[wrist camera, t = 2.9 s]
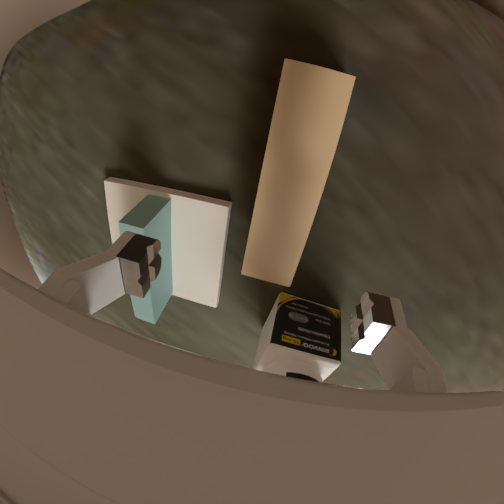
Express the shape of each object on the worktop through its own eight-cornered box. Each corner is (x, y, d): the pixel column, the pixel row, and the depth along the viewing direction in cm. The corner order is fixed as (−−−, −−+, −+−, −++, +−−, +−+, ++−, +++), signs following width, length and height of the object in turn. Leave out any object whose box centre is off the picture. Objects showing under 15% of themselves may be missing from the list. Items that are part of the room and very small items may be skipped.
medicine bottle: (341, 309, 29) (340, 412, 20) (315, 343, 33) (305, 432, 24) (280, 289, 29) (258, 394, 20) (261, 328, 33) (239, 417, 24)
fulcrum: (232, 202, 24) (209, 240, 19) (218, 301, 32) (202, 342, 27) (109, 176, 25) (71, 204, 20) (122, 271, 33) (97, 304, 28)
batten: (345, 76, 16) (355, 76, 12) (295, 250, 26) (289, 287, 22) (291, 62, 16) (284, 58, 12) (253, 239, 26) (240, 274, 22)
